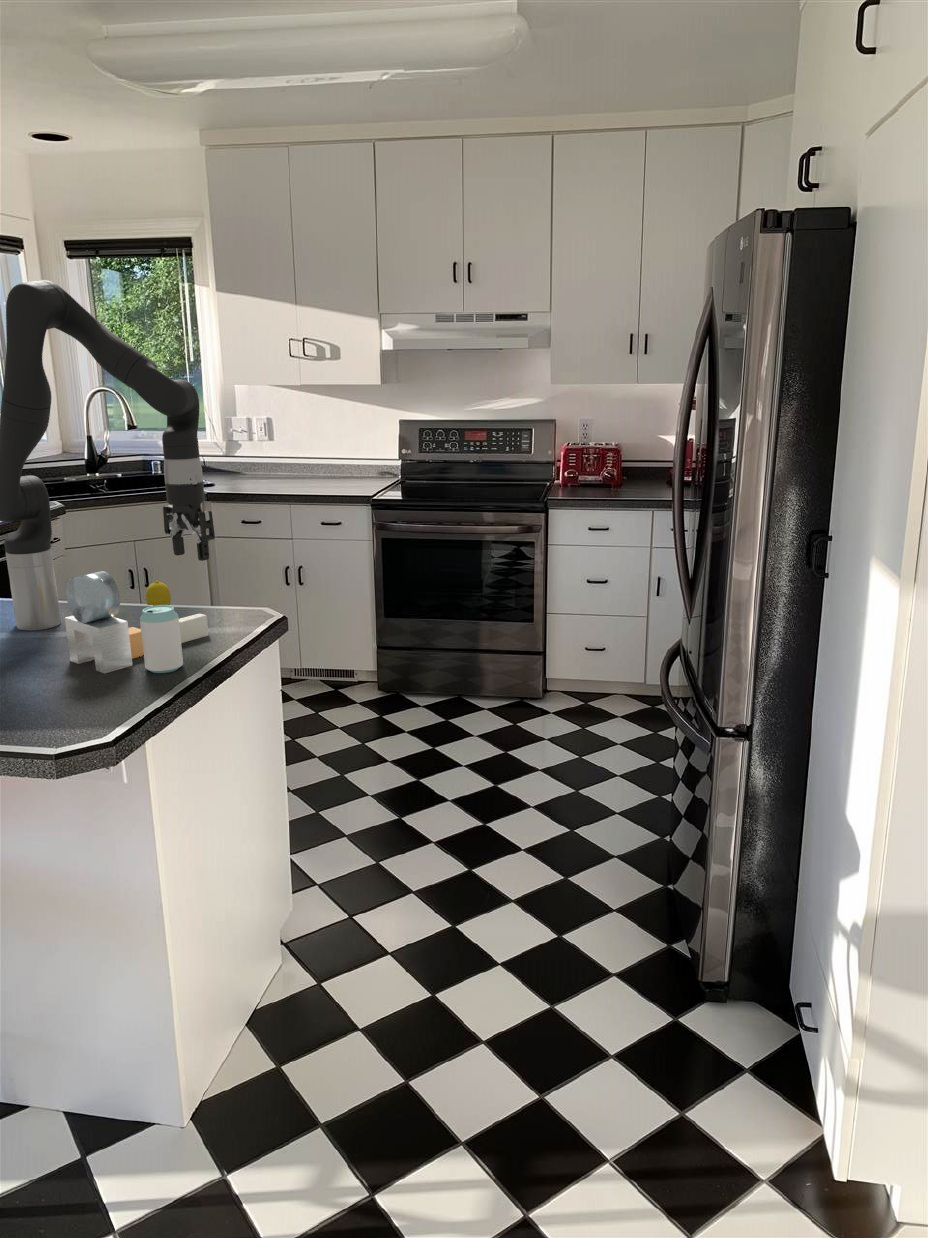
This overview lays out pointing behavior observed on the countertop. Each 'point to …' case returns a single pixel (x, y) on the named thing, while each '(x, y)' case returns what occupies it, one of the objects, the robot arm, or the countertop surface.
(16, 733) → the countertop surface
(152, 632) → the can
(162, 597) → the lemon
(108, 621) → the cylinder
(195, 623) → the plug
